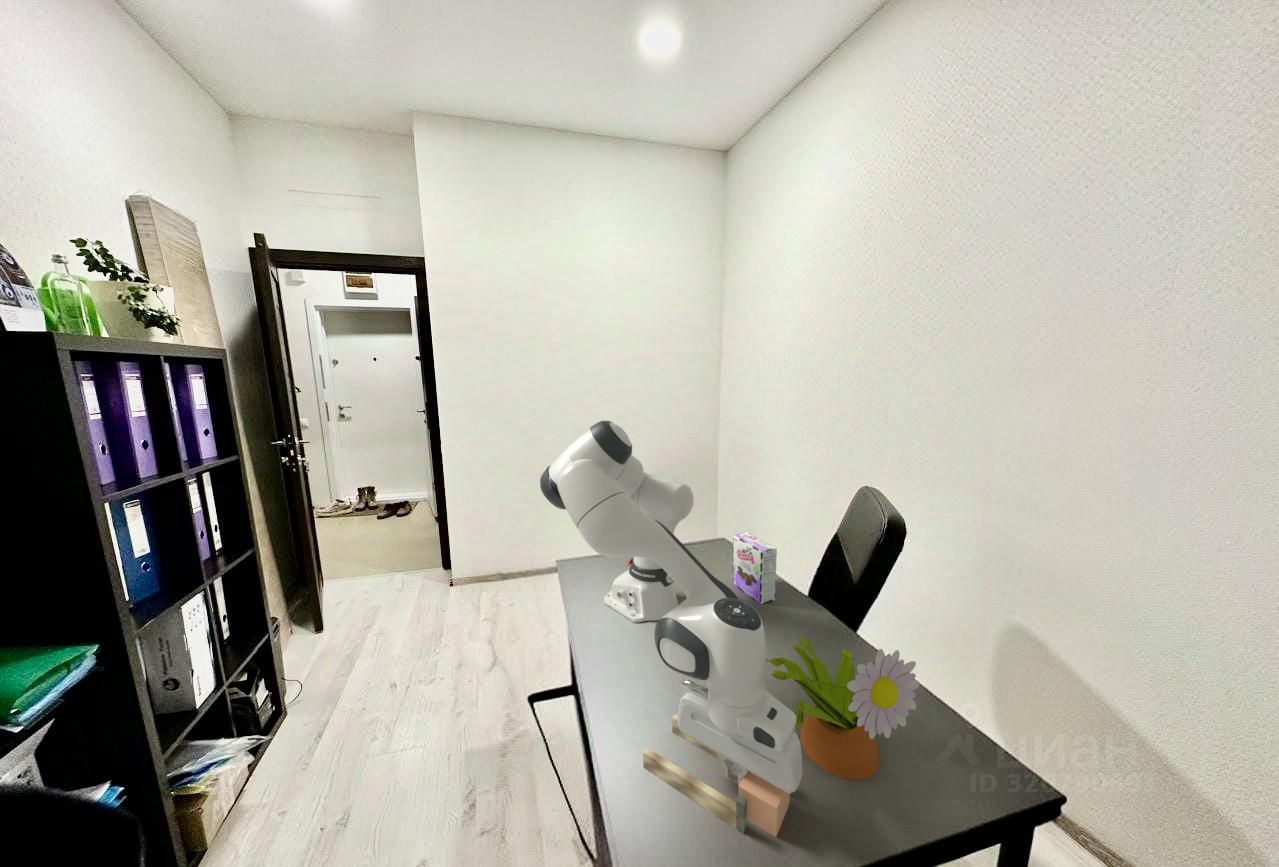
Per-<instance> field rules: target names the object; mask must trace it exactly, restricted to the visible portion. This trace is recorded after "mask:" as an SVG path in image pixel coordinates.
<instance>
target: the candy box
mask: <svg viewBox="0 0 1279 867" xmlns="http://www.w3.org/2000/svg"><path fill="white" fill-rule="evenodd" d="M732 536H733V537H732V538H733V539H732V543H733V544H732V584H733V585H734V586H735V587H736V588H738V589H739V590H741V591H742V592H744V593H745V594H746V596H749V598H751V599H753V601H755V602H756V603H758V604H759V605H763V604H768V603H771V602H776V585H777V584H776V580H777V577H776V576H777V553H778V552H777V551H778V548H777V547H775V546H773V545H772V544H769V543H768V542H766V541H764V540H762V539H760V538H759V537H757V536H755V535H754V534H752V533H750V532H748V531H746V532H742V533H738V534H733V535H732Z"/></svg>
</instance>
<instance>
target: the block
mask: <svg viewBox="0 0 1279 867" xmlns="http://www.w3.org/2000/svg"><path fill="white" fill-rule="evenodd" d="M737 787H738V790H737V791H738V794H737V796H739V794H741V795H742V796H744V797H746V798H747V821H749V822H751V823H752V824H754V825H756V826H757V827H759V828H760V829H762V830H764V831H765V832H767V833H768V834H770V835H771V836H773V837H775V838H777V837H778V834H779V831H780V829H781V826H782V824H783V821H784V820H785V816H786V814H787V812H788V809H789V807H790V794H791V793H787V792H785V791H783V790H782V789H780V788H778V787H776V786H775V785H773V784H771V783H769V782H768V781H766V780H764V779H762V778H761V777H759V776H757V775H755V774H753V773H752V772H750V771H748V773H747V774H746V775H745V776H744V777H743V778H742V780H741V782H740V784H739V785H738V786H737Z"/></svg>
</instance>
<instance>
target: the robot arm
mask: <svg viewBox="0 0 1279 867" xmlns="http://www.w3.org/2000/svg"><path fill="white" fill-rule="evenodd" d="M632 453H633V445H632V442H631V440H630V438H629V436H628V434H627V432H626V431H625V430H624V429H623V428H622V427H620V426H619V425H618V424H615V422H612V421H610V420H600V421H598V422H596V423H594V424H593V425H591V426H590V427H589V429H588V430H587V431H585V432H584V433H583V434H581V435H580V436H579V437H577V438H576V439H575V440H573V442H571V443H570V444H569V445H568V446H567V448H566V449H565V450H564V451H562V453H561V454H560V455H559V456H558V457H557V458H556V459H555V460H554V462H552V464H551V465H549V466H547V467H546V469H544V472H543V473H542V474H541V475H540V479H539V480H540V481H539V486H540V487H539V488H540V490H541V492H542V494H543V496H544V497H545V499H546V500H547V501H548V502H549V503H550V504H551V505H553V506H554V507H555V508H557V509H560V510H566V511H567V513H568V515H569V517H570V518H571V520H572V522H573V524H574V526H576V529H577V530H578V532H579V533H580V535H581V537H582V538H583V539H584V541H585V542H586V544H588V546H589V547H590V548H591V549H593V551H595V552H596V553H598V554H599V555H602V556H605V557H610V558H630V560H628V561H626V562H625V564H626V565H625V566H626V567H628V566H629V569H627V570H626V571H624V572H622V573H621V574H619V576H618V575H617V577H616V578H615V579H614V580H613V581H612V582H613V583H612V585H611V590H610V591H608V592H607V593H606V594H605V596H604V598H603V604H605V605H606V606H607V607H609V606H610V608H611V609H612V610H614V611H616V612H617V613H619V614H620V615H622V616H623V617H625V618H627V619H628V620H630V621H631V622H633V623H642V622H647V621H653V622H654V621H657V622H656V624H655V627H654V644H655V648H656V651H657V653H658V655H659V657H660V659H661V661H662V662H663V663H664V664H665V666H667V667H668V668H670V669H671V670H673V671H674V672H676V673H679V674H681V675H684V676H687V677H689V678H692V679H695V680H699V681H700V680H701V681H707V687H705V686H703V685H700V684H697V683H696V682H695V681H694V680H690V679H688V680H684V681H681V682H680V684H679V687H678V688H679V689H678V694H679V699H680V701H679V704H678V710H677V711H678V712H677V715H678V720H677V725H678V727H679V729H680V731H681V732H682V733H683V734H685V735H686V736H688V737H690V738H692V739H694V740H695V741H697V742H699V743H701V744H702V745H704V746H706V747H708V748H709V749H711V750H713V751H715V752H716V753H718V757H719V758H718V759H719V761H720V763H721V766H723V769H724V777H725V778H726V779H728V780H730V781H731V782H733V783H734V784H736V785H738V786H739V784H740V782H741V780H742V778H743V777H744V776H745V775H746V774H747V773H748V771H750V772H752V773H753V774H755V775H757V776H759V777H761V778H762V779H764V780H766V781H768V782H769V783H771V784H773V785H775V786H776V787H778V788H780V789H782V790H783V791H785V792H787V793H790V794H792V793H795V792H796V791H797V789H798V787H799V785H800V782H801V780H802V776H803V754H802V744H801V739H800V737H799V736H798V734H797V733H796V731H795V729H796V728H795V726H796V722H797V717H796V715H795V713H796V712H793V710H791V709H790V708H788V707H787V705H785V704H783V702H781V701H780V700H779V699H777V698H776V697H775V696H773V695H772V693H770V692H769V691H768V690H767V689H766V685H765V682H764V674H765V671H766V667H767V661H766V659H767V648H766V646H767V645H766V634H765V627H764V624H763V621H762V618H761V616H760V614H759V612H758V611H757V610H756V608H754V607H753V605H751V604H750V603H748V602H747V601H744V600H741V599H739V597H738V596H737V594H736V593H735V592H734V591H733V590H732V589H731V588H730V587H729V586H727V585H726V584H725V583H724V582H722V581H720V580H719V579H718V578H716V576H714V575H713V574H711V572H709V570H708V569H707V568H706V567H704V565H703V564H702V563H701V562H700V561H699V560H698V559H697V558H696V557H695V556H694V555H693V553H692V552H691V551H690V550H689V549H688V548H687V547H686V546H685V545H684V544H683V543H682V542H681V541H680V540H679V539H678V537H677V536H676V535H674V533H675V530H676V528H677V526H678V525H679V523H681V521H683V520H685V519H686V518H687V517H688V516H689V514H691V512H692V510H693V507H694V500H695V498H694V493H693V491H692V489H691V487H690V486H688V485H687V484H685V483H684V482H681V481H679V480H677V479H674V478H669V477H664V476H658V475H655V474H651V473H647V472H645V471H644V467H643V464H642V462H641V461H640V460H639V459H637V458H636V457H635V456H634V455H632ZM631 557H632V558H631ZM675 584H676V585H677V586H678V587H679V588H680V590H682V591H683V593H684V594H685V596H686V599H684V600H683V601H682V602H681V603H679V602H678V598H677V594H676V589H675ZM733 762H734V763H736V764H738V765H739V766H737V765H736V764H734V763H733Z"/></svg>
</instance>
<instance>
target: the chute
mask: <svg viewBox="0 0 1279 867" xmlns="http://www.w3.org/2000/svg"><path fill="white" fill-rule="evenodd" d="M677 720H678V713H677V714H676V713H675V714H674V715H673V716H672V717H671V726H672V727H671V730H672V731H671V732H672V733H673V734H675V735H677V736H679V737H681V738H682V739H684V740H686V741H687V742H689V743H691V744H692V745H694V746H696V747H698V748H699V749H701V750H703V751H705V752H706V753H708V754H710V755H712V756H713V757H716V758H717V759H719V757H718V753H716V752H715V751H713V750H711V749H709V748H708V747H706V746H704V745H702V744H701V743H699V742H697V741H695V740H694V739H692V738H690V737H688V736H686V735H685V734H683V733H682V732H681V731H680V729H679V727H678V725H677ZM642 757H643V760H642V762H643V764H642V765H643V769H645V770H647V771H648V772H649V773H651V774H653V775H654V776H655V777H657V778H659V779H660V780H661V781H663V782H664V783H666V784H667V785H669V786H671V787H672V788H673V789H675V790H677V791H678V792H680V793H681V794H683V795H685V797H687V798H689V799H690V800H692V801H693V802H695V803H696V804H698V805H700V806H701V807H703V808H704V809H705V810H707V811H709V812H710V813H712V814H713V815H714V816H716V817H717V818H719V819H720V820H722V821H724V822H725V823H727V825H728V824H729V825H730V826H732V827H733V828H734V829H736V830H737V831H739V832H740V833H742V834H745V832H746V830H747V826H748V819H747V798H746V797H744V796H742V795H741V794H739V796H738V795H737V796H738V797H737V798H736V800H735V801H734V800H732V799H730V798H729V797H727V796H726V795H724V794H722V793H721V792H719V791H717V790H716V789H714V788H713V787H711V786H709V785H708V784H707V783H705V782H704V781H701V780H700V779H698V778H697V777H695V776H694V775H692V774H691V773H689V772H687V771H685V770H684V769H682V768H681V767H679V766H677V765H676V764H674V763H673V762H672V761H669V760H668V759H666V758H665V757H663V756H661V755H660V754H658V753H656V752H655V751H653V750H652V749H650V748H649V747H646V749H644V751H643V753H642ZM733 763H734V762H733ZM734 764H736V763H734ZM736 765H737V766H739V765H738V764H736Z"/></svg>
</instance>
